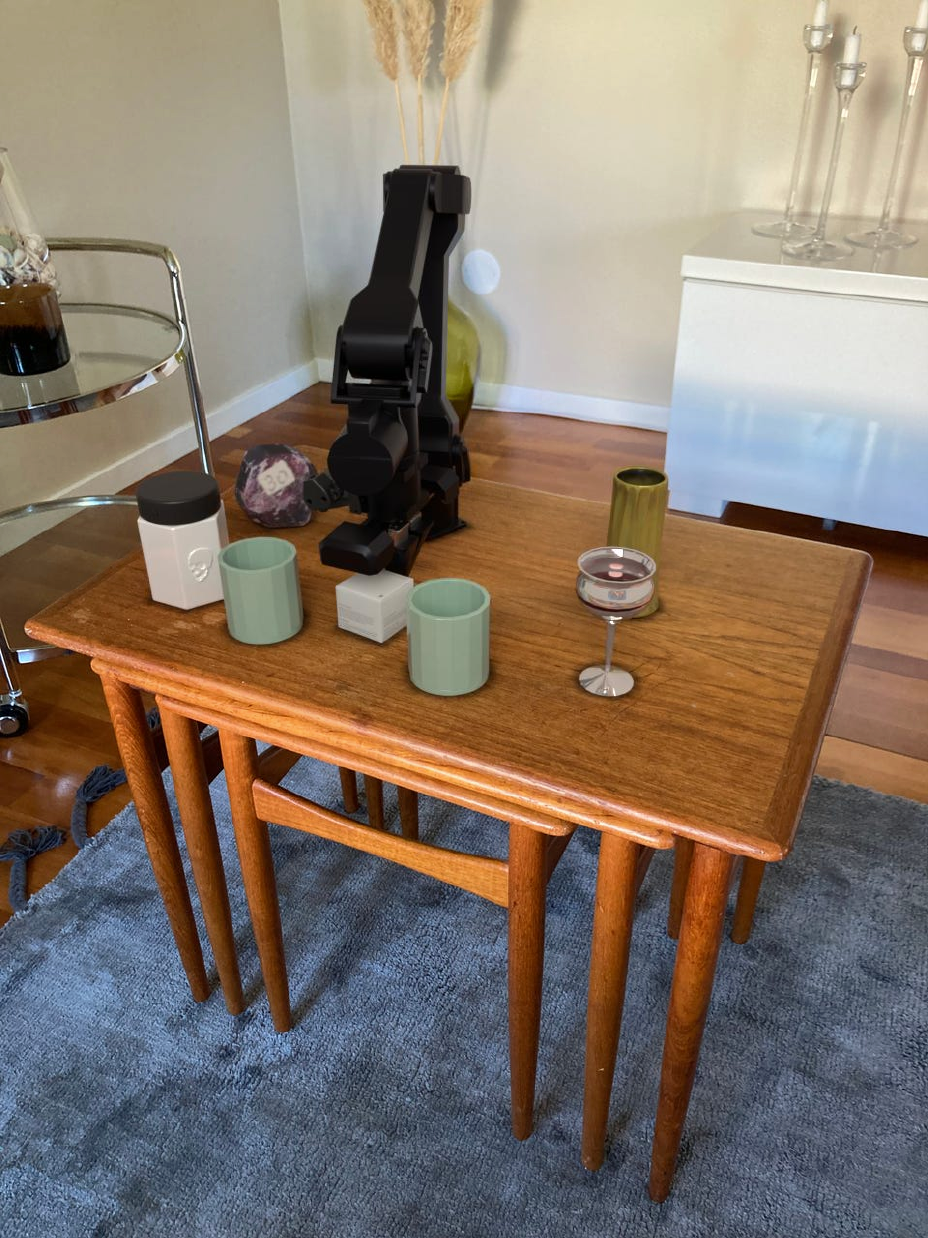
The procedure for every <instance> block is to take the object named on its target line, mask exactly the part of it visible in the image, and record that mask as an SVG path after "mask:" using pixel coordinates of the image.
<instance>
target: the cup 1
mask: <svg viewBox="0 0 928 1238" xmlns="http://www.w3.org/2000/svg"><path fill="white" fill-rule="evenodd" d="M217 558H218V565H219V571H220V578H221V584H222V591H223V598H224V599H223V605H224V610H225V617H226V624H227V629H228V633H229V635H230V636H231V637H232V638H233V639H234V640H236V641H238V642H241V643H244V644H248V645H270V644H276V643H279V642H282V641H286V640H288V639H291V638H292V637H294V636H295V635H296V634H298V633H299V632H300V631H301V629H302V627H303V626H304V607H303V600H302V590H301V579H300V571H299V570H300V569H299V561H298V552H297V549H296V546H295V545H294V544H293V543H292V542H290V541H288V540H287V539H283V538H279V537H275V536H255V537H247V538H243V539H239V540H237V541H234V542H231V543H229V545H228V546H226V547H225V548H223V549H222V550H221V551H220V553H219V554H218V556H217Z"/></svg>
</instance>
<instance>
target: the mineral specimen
mask: <svg viewBox="0 0 928 1238" xmlns="http://www.w3.org/2000/svg"><path fill="white" fill-rule="evenodd" d="M318 471H319V470H318V469H317V468H316V466H315V465H314V463H313V462H312V461H311V460H310V458H309V457H308V456H307V455H306V454H305V453H304V452H302V451H300V450H298V449H297V448H295V447H293V446H291V445H290V444H286V443H266V444H257V445H252V446H249V448H248V449H247V450H246V451H245V452H244V455H243V457H242V460H241V464H240V466H239V471H238V474H237V477H236V481H235V484H234V490H233V491H234V497H235V501H236V503H237V504H238V506H239V507H240V508H241V510H242V511H243V512H244V513H245V514H246V515H247V516H248V518H249V519H251V521H252V522H254V523H257V524H260V525H262V526H263V527H266V528H271V529H275V528H276V529H277V528H295V527H303V526H305V525H306V524H308V523H309V522H311V518H312V515H313V512H314V511H312V510H311V509H309V508H308V506H307V504H306V503H305V502H304V500H303V481H304V480H306V479H307V478H308V477H310V476H311V475H315V476H317V475H318V474H319V472H318Z"/></svg>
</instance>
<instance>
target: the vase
mask: <svg viewBox="0 0 928 1238" xmlns="http://www.w3.org/2000/svg"><path fill="white" fill-rule="evenodd" d="M668 491H669V476H668V474H667V473H666V472H665V471H663V470H661V469H658V468H655V467H651V466H645V465H633V466H625V467H623V468H622V467H621V468H619V469H617V470H615V472H614V473H613V478H612V490H611V501H610V510H609V511H610V512H609V520H608V521H609V523H608V529H607V536H606V537H607V538H606V547H625V548H629V549H634V550H637V551H639V552H642V553H644V554H646V555H648V556H649V557H650V558H652V559H653V561H654V562H655V564H656V571H655V573H654V574H653V575H652V577H653V579H654V594H653V597H652V600H651V601H650V603H649V605H648V606H647V607H646V609H645V610H644V611H642V612H641V613H639V614H638V615H636V616H634V617H633V618H632V619H638V618H644V617H647V616H649V615H651V614H653V613H655V612H656V611H657V610H658V607H659V581H660V579H659V578H660V563H661V562H660V561H661V550H662V542H663V541H662V540H663V532H664V524H665V515H666V508H667V499H668V493H669V492H668Z"/></svg>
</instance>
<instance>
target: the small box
mask: <svg viewBox="0 0 928 1238" xmlns="http://www.w3.org/2000/svg"><path fill="white" fill-rule="evenodd" d="M414 587H415V584H414V578H412V577H409V576H408V577H405V576H402V575H399V574H396V573H393V572H390V571H386V570H385V569H383V570H382V571H381V572H380V573H379V574H376V575H371V576H368V575H364V574H360V573H355V574H353V575H352V576H350V577H348V578H347V579H345V580H343V581H342V582H340V583H338V584H337V585H335V597H336V598H335V599H336V610H337V611H336V612H337V625H338V628H339V629H342V630H345V631H347V632H350V633H353V634H356V635H358V636H360V637H361V636H362V637H364V638H366V639H370V640H372V641H374V642H377V643H379V644H383V643H384V642H386V641H388V640H389V639H390V638H392V637H393V636H395V635H396V634H398V633H399V632H400V631H402V630H403V629H405V628H407V619H406V598H407V594H408V592H409V591H410V590H411V589H413V588H414Z"/></svg>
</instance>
